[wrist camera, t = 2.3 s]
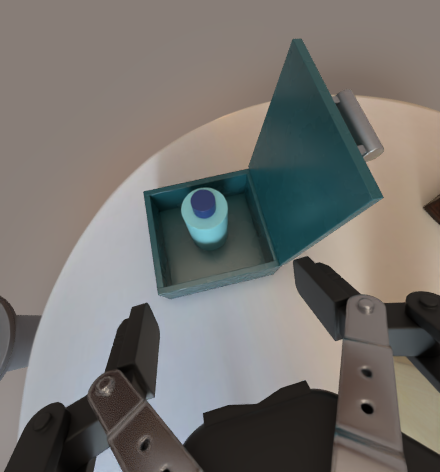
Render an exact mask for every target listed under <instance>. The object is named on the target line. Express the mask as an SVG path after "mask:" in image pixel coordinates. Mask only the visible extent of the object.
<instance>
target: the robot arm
mask: <svg viewBox="0 0 440 472" xmlns="http://www.w3.org/2000/svg"><path fill="white" fill-rule="evenodd" d="M293 267H294V276H295V284H296V288H297V290H298V292H299V294H300V295H301V297H302V298H303V299H304V301H305V302H306V303H307V305H308V306H309V307H310V309H311V310H312V311H313V313H314V314H315V315H316V317H317V318H318V319H319V320H320V322H321V323H322V324H323V326H324V327H325V328H326V330H327V331H328V332H329V334H330V335H331V336H332V338H333V339H334V340H335V341H338V340H341V339H343V344H342V356H341V368H340V380H339V392H338V394H335V393H333V392H330V391H326V390H321V389H310V388H309V386H308V384H307V382H306V380H305V381H302V382H299V383H296V384H292V385H289V386H286V387H283V388H280V389H279V390H277V391H276V392H274V393H273V394H272V395H270V396H269V397H267V398H266V399H264V400H263V401H261V402H260V403H257V404H245V405H227V406H224V407H221V408H218V409H215V410H212V411H209V412H206V413H203V418H204V424H202V425H201V426H199V427H198V428H197V429H196V430H195V431H194V432H193V433H192V434H191V435H190V436H189V437H188V439H187V440H186V441H185V443H184V444H183V445H182V444H181V442H180V441H179V440H178V439H177V437H176V436H175V435H174V434H173V432H172V431H171V430H170V429H169V427H168V426H167V425H166V424H165V422H164V421H163V420H162V419H161V418H160V416H159V415H158V414H157V413H156V411H155V410H154V409H153V408H152V406H151V405H150V404H149V403H148V402H147V400H148V399H151V398H154V397H155V388H156V376H157V364H158V352H159V340H160V331H159V326H158V323H157V321H156V319H155V317H154V315H153V313H152V310H151V308H150V306H149V304H148V303H144V304H141V305H137V306H134V307H132V309H131V313H130V316H129V318H128V319H125V320H123V322H122V323H121V325H120V326H119V327H118V329H117V333H116V336H115V339H114V343H113V346H112V349H111V353H110V356H109V359H108V363H107V366H106V369H105V373H103V374H102V375H101V376H99V377H98V378H97V379H96V380H95V381H94V382H93V384H92V385H91V387H90V389H89V391H88V395H86V396H85V397H83V398H81V399H80V400H78V401H76V402H75V403H73V404H71V405H70V406H68V407H65V406H64V405H63V404H62V403H60V402H55V403H51V404H49V405H47V406H45V407H44V408H42V409H41V410H40V411H38V412H37V413H36V414H35V415H34V416H33V417H32V418H31V419H30V421H29V422H28V423H27V425H26V426H25V428H24V430H23V432H22V435H21V437H20V439H19V441H18V443H17V445H16V448H15V449H14V452H13V454H12V456H11V458H10V460H9V462H8V464H7V467H6V469H5V471H4V472H93V471H94V466H95V461H96V456H98V455H99V454H100V453H102V452H103V451H105V450H106V449H108V448H109V447H110V448H111V450H112V452H113V454H114V456H115V458H116V460H117V461H118V463H119V465H120V467H121V469H122V471H123V472H440V454H438V453H437V452H435V451H433V450H432V449H430V448H428V447H426V446H425V445H423V444H421V443H420V442H418V441H416V440H415V439H413V438H411V437H410V436H408V435H406V434H405V433H403V432H401V426H400V416H399V407H398V397H397V388H396V378H395V369H394V360H393V356H406V358H407V359H408V360H409V361H410V362H411V363H412V364H413V365H414V366H415V367H416V368H417V369H418V370H419V371H420V373H421V374H422V375H423V376H424V377H425V378H426V379H427V380H428V381H429V382H430V383H431V384H432V385H433V387H434V388H435V389H436V390H437V391H438V392H439V393H440V296H439V295H437V294H434V293H430V292H422V291H419V292H413V293H410V294H409V295H408V296H407V297H406V303H383V302H382V301H380V300H379V299H377V298H375V297H373V296H370V295H361V294H360V293H359V292H358V291H357V290H356V289H354V288H353V287H352V286H351V285H350V284H349V283H348V282H347V281H345V280H344V279H343V278H341V276H340V275H339V274H337V273H336V272H335V271H334V270H333V269H332V268H331V267H330V266H328V265H325V264H323V263H320V262H319V263H314V262H313V261H312V260H311V259H310V258H309V257H308V256H306V257H303V258H299V259H296V260H294V261H293Z"/></svg>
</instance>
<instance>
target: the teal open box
mask: <svg viewBox="0 0 440 472" xmlns="http://www.w3.org/2000/svg"><path fill="white" fill-rule="evenodd" d="M199 188H212V189H215V190H217V191H218V192H220V193H221V194H222V195H223V196H224V197H225V199H226V201H227V205H228V236H227V239H226V241H225V243H224V244H223V245H222V246H221V247H220V248H218V249H215V250H211V251H208V250H203V249H201V248H199V247H198V246H197V245H196V244H195V243H194V242H193V239H192V237H191V235H190V232H189V230H188V228H187V226H186V223H185V221H184V219H183V216H182V213H181V207H182V203H183V201H184V199H185V197H186V196H187V195H188V194H189V193H190V192H192V191H194V190H196V189H199ZM143 193H144V200H145V206H146V213H147V220H148V227H149V234H150V241H151V248H152V255H153V262H154V269H155V276H156V283H157V288H158V289H157V290H158V295H160V296H162V297H165V298H168V299H173V298H177V297H181V296H185V295H190V294H194V293H198V292H202V291H206V290H210V289H214V288H219V287H223V286H227V285H231V284H235V283H239V282H244V281H248V280H252V279H256V278H260V277H264V276H268V275H273V274H274V273H275V272H276V271H277V270H278V269H279V268H280V267H281V266H282V265H280V263H279V260H278V257H277V254H276V251H275V248H274V245H273V241H272V238H271V235H270V232H269V229H268V226H267V223H266V220H265V217H264V214H263V210H262V207H261V204H260V201H259V198H258V195H257V192H256V189H255V186H254V182H253V179H252V176H251V173H250V170H249V169H245V170H240V171H236V172H231V173H227V174H222V175H217V176H213V177H208V178H204V179H199V180H195V181H190V182H185V183H181V184H176V185H172V186H167V187H162V188H158V189H153V190H149V191H144V192H143Z"/></svg>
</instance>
